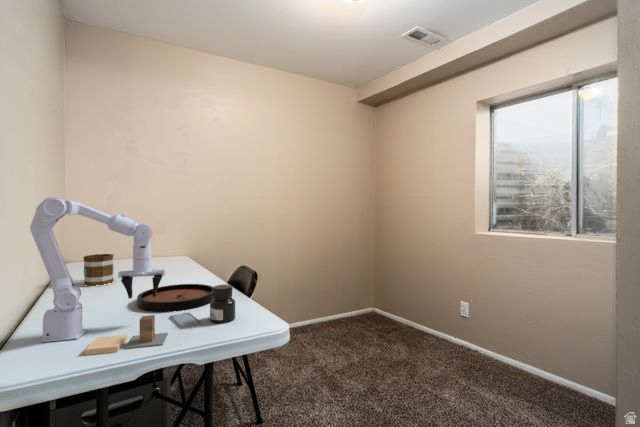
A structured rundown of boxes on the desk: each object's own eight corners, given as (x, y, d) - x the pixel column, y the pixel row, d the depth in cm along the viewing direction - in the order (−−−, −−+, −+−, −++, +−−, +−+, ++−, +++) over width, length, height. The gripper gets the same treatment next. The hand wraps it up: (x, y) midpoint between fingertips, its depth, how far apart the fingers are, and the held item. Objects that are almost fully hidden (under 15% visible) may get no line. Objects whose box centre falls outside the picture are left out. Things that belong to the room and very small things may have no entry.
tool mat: (124, 349, 95) (124, 347, 95) (133, 337, 104) (133, 335, 104) (162, 345, 98) (162, 343, 98) (167, 333, 106) (167, 332, 106)
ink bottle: (206, 318, 121) (206, 285, 121) (229, 313, 127) (229, 282, 127) (215, 325, 114) (215, 291, 113) (239, 320, 119) (239, 287, 119)
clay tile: (97, 343, 100) (85, 356, 91) (97, 337, 100) (85, 349, 91) (127, 341, 102) (117, 353, 93) (127, 334, 102) (117, 346, 93)
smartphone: (181, 328, 110) (168, 316, 122) (181, 330, 110) (168, 318, 122) (203, 323, 115) (189, 312, 127) (203, 325, 115) (189, 314, 127)
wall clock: (145, 286, 154) (215, 281, 164) (145, 295, 154) (215, 290, 164) (128, 305, 124) (215, 298, 134) (128, 316, 124) (215, 308, 134)
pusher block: (142, 338, 102) (142, 315, 102) (154, 337, 103) (154, 315, 102) (139, 342, 98) (139, 319, 98) (152, 341, 99) (152, 318, 99)
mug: (117, 283, 174) (117, 255, 174) (86, 288, 165) (86, 258, 164) (107, 278, 188) (107, 252, 188) (78, 282, 178) (78, 254, 178)
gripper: (115, 261, 109) (115, 301, 110) (162, 259, 113) (163, 298, 114) (121, 257, 116) (122, 296, 116) (166, 256, 120) (166, 293, 120)
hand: (142, 296), depth 116 cm, fingers open, 7 cm apart
